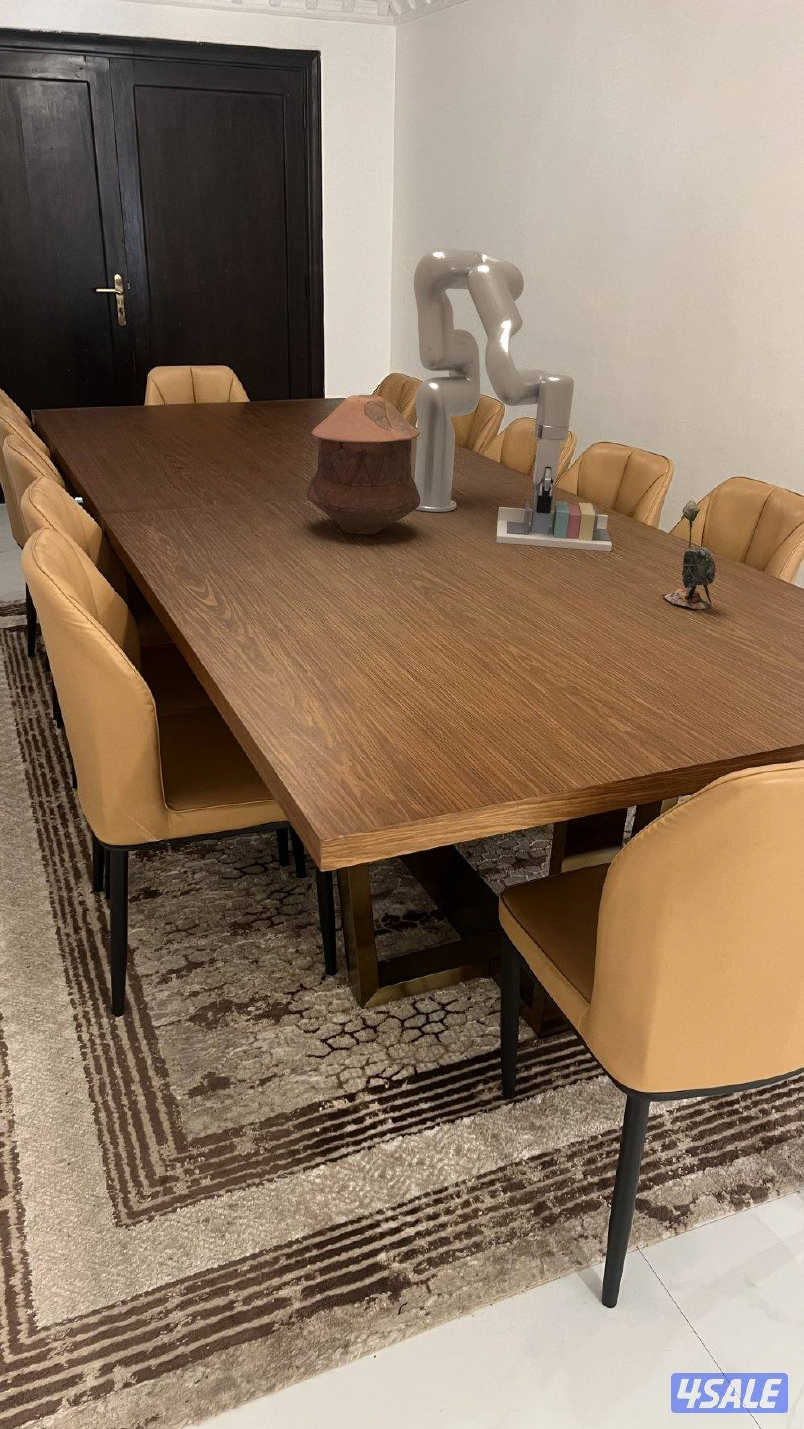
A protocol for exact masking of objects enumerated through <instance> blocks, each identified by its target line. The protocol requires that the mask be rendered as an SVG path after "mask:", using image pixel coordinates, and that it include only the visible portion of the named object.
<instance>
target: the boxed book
mask: <svg viewBox="0 0 804 1429" xmlns="http://www.w3.org/2000/svg"><path fill="white" fill-rule="evenodd" d="M542 487H543V486H542ZM534 488H535V489H534V495H533V496H534V497H533V504H532V505H533V506H532V509H533V513H532V522H531V533H536V534H549V528H550V520H551V511H553V510H552V509H553V500H554V494H555V493H554V492H555V490H554V486H552V495H551V496H552V502H551V511H550V513H549V514H545V513H537V512H536V508H537V499H538V495H539V491H540V485H538V484H537V485H535V487H534Z"/></svg>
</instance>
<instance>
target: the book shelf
mask: <svg viewBox="0 0 804 1429" xmlns="http://www.w3.org/2000/svg"><path fill="white" fill-rule="evenodd" d="M532 513H533V508H531V503H530V501H529V500H526V501H525V508H520V507H519V508H518V507H517V508H516V507H506V506H499V507H498V515H497V525H496V543H498V544H508V545H509V544H511V545H512V544H513V545H523V546H524V545H525V546H537V547H549V548H561V549H562V548H563V549H572V550H573V549H574V550H575V549H577V550H585V551H587V550H588V551H600V552H610V551H611V552H612V547H613V544H612V541H611V538H610V536H609V532H608V529H607V527H608V518H609V515H608V514H598V511H597V509H596V506H595V505H593V503H590V502H589V503H588V502H578V504H577V505H571V504H568V502H567V501H561V500H554V507H553V510H552V511H551V520H550V528H549V534H536V533H531V522H532Z"/></svg>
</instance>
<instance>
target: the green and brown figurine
mask: <svg viewBox="0 0 804 1429" xmlns="http://www.w3.org/2000/svg"><path fill="white" fill-rule="evenodd" d="M700 510H701V509H700V507H699V506H698V504H697V503H696V502H695V501H694V500H689V501H688V502H687V503H686V505H685V506H684V507H683V508H682V513H683V514H682V515H681V517H680V519H681V520H683V519H684V518H686V520H687V521H689V524H688V526H689V529H688V530H689V541H688V549H686V550H684V551H685V552H684V555H683V562H682V572H681V575H682V583H683V588H679V589H676V590H675V591H673V592H669V593H665V594H663V593H662V597H663V598H664V599H665V600H667V601H669V603H670V604H672V605H674V604H675V605H678V606H682V607H686V608H689V609H693V610H704V609H709V608H711V607H712V605H713V603H714V602H713V599H712V598H711V596H710V591H709V587H708V585H711V584H713V582H714V581H715V579H716V576H717V575H716V571H717V569H716V561H715V559H714V556H713V555H712V553H711V551H710V550H709V549H708V548H707V547H703V546H694V547H691V544H692V528H693V522H695V521H696V518H697V516H698V515H699V512H700ZM697 586H698V587H699V586H703V589H704V592H705V594H706V598H707V600H708V601H709V602H708V601H707V600H706V599H704V598H702V597H701V594H700V593H699V591H698V590H696V589H697Z"/></svg>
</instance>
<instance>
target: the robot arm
mask: <svg viewBox="0 0 804 1429" xmlns="http://www.w3.org/2000/svg"><path fill="white" fill-rule="evenodd" d="M524 281H525V280H524V276H523V273H522V272H521V270H520V268H518V267H517V266H516V265H515V264H514V263H511V262H509V261H506V260H503V259H501V258H498V257H496V256H492V255H489V254H487V253H485V252H482V251H478V250H470V249H455V248H439V249H434V250H431V251H429V252H427V253H426V254H425V255H423V256H422V257H421V259H420V260H419V261H418V263H417V264H416V267H415V271H414V275H413V289H414V297H415V302H416V303H415V304H416V309H417V310H416V311H417V329H418V330H417V331H418V333H417V334H418V353H419V359H420V363H421V365H422V367H423V368H424V369H426V370H428V371H431V372H448V376H438V377H437V376H435V377H431V378H427V379H425V380H424V381H422V383H420V384H419V385H418V387H417V389H416V392H415V396H414V397H415V398H414V400H415V412H416V419H417V423H416V425H417V428H416V429H417V430H419V431H420V435H419V436H417V437H416V449H415V450H416V451H415V452H416V453H415V455H416V456H415V471H414V482H415V484H416V487H417V490H418V493H419V495H420V504H419V506H418V507H417V508H416V509H415V510H417V511H423V512H432V513H433V512H434V513H443V512H445V513H446V512H451V511H454V510H456V509H457V502H456V501H455V500H453V499H452V488H453V474H454V473H453V472H454V464H455V463H454V460H455V451H456V450H455V448H456V432H455V429H454V425H453V422H452V418H453V417H463V416H466V415H470V414H472V413H473V412H474V411H475V410H477V408H478V405H479V403H480V398H481V374H480V373H481V372H480V371H481V370H480V366H481V365H480V350H479V345H478V342H477V340H476V338H475V336H474V335H473V334H472V333H471V332H470V331H467V330H465V329H462V328H461V329H460V328H458V329H456V328H455V323H454V310H453V305H452V302H451V300H450V298H449V296H448V294H447V293H446V291H447V290H448V289H449V290H468V293H469V295H470V297H471V300H472V302H473V304H474V306H475V307H474V308H475V309H476V312H477V314H478V317H479V319H480V323H482V326H483V329H484V331H485V333H486V336H487V342H486V347H485V353H484V354H485V356H484V360H485V361H484V362H485V370H486V373H487V377H488V379H489V381H490V384H491V387H492V389H493V391H494V392H495V395H496V396H497V398H498V399H499V400H500V402H501V403H502V404H504V405H506V406H508V407H520V406H529V405H530V406H531V405H533V406H534V405H536V415H535V424H534V432H533V433H534V434H533V439H534V440H537V445H536V450H535V451H536V452H535V459H534V468H533V474H532V475H533V476H532V478H533V479H532V481H533V484H534V485H535V486H536V485H540V491H539V495H538V499H537V508H536V512H537V513H545V514H549V513H550V511H551V502H552V496H551V495H552V486H553V487H554V486H555V485H556V481H557V476H558V472H559V471H558V470H559V465H560V458H561V450H562V443H565V442H568V436H569V429H570V428H569V427H570V422H571V421H570V420H571V414H572V404H573V395H574V388H575V387H574V386H575V382H574V379H573V378H572V377H571V376H569V375H566V374H555V373H554V374H553V373H551V372H548V371H545V370H542V369H520V370H517V368H516V365H515V363H514V361H513V358H512V356H511V351H510V350H511V349H510V343H511V339H512V338H513V337H514V336H515V335H516V334H517V333H519V331H520V330H521V328H522V327H523V323H524V322H523V318H522V316H521V313H520V312H519V309H518V307H517V304H516V302H515V301H517V300H518V299H519V298H520V297H521V295H522V294H523V290H524V287H525V286H524V285H525V282H524ZM542 486H543V487H542Z"/></svg>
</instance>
